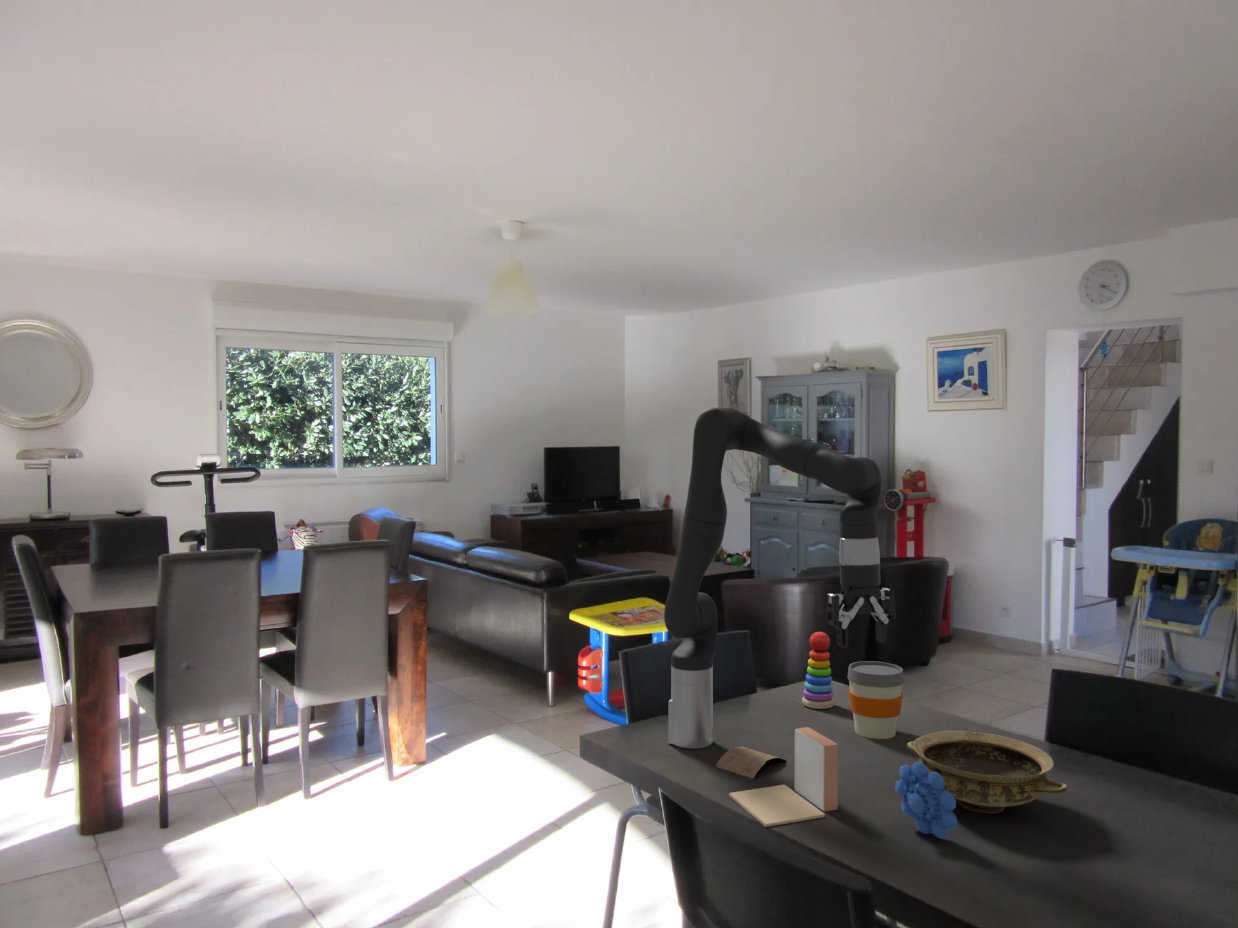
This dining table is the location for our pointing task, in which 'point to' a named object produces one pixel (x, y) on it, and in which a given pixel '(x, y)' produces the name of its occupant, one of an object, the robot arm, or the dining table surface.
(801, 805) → the mat
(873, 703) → the reusable coffee cup
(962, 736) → the ceramic bowl
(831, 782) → the tile
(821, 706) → the stacking toy
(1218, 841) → the dining table surface
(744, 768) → the curved bark piece
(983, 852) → the dining table surface
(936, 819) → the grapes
